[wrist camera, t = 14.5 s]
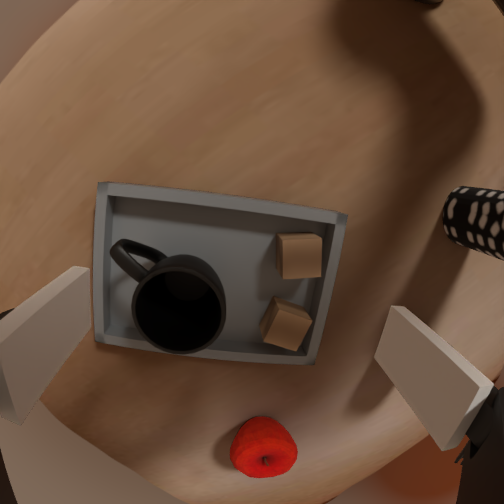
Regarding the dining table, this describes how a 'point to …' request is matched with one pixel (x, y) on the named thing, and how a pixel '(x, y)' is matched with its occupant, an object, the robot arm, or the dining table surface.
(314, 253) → the walnut block
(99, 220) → the tray
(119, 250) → the mug
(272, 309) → the walnut block
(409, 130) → the dining table surface
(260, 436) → the apple
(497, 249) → the spotted tube
